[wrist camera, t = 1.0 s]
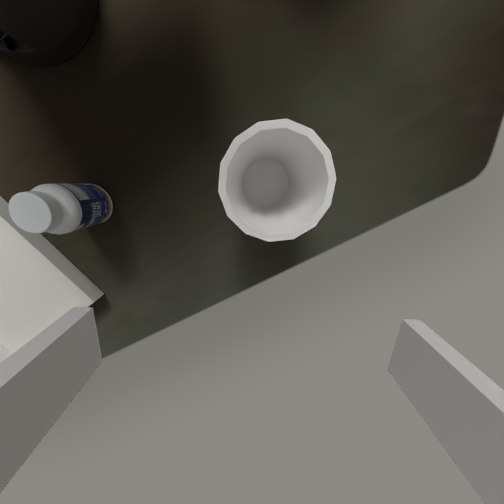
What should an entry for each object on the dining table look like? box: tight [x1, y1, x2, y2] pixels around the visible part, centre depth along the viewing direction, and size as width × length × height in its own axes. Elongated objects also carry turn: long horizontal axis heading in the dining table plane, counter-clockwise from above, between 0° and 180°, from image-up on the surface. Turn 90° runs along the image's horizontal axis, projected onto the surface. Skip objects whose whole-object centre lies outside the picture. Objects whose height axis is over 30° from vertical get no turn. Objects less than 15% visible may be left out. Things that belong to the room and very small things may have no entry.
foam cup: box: [218, 119, 336, 242], centre depth 25 cm, size 10×9×13 cm
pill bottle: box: [8, 183, 113, 234], centre depth 27 cm, size 5×5×10 cm
